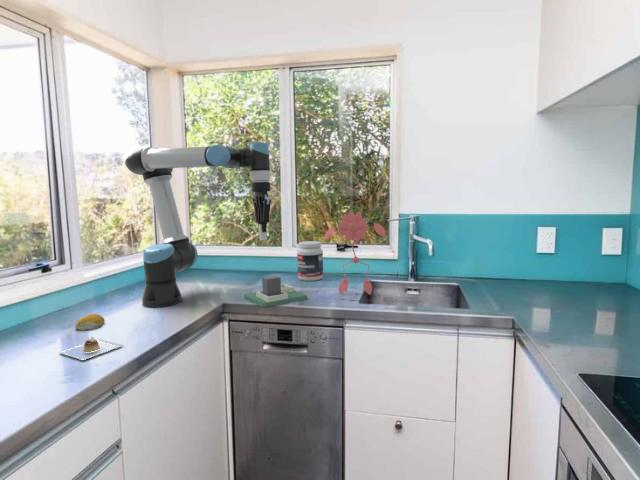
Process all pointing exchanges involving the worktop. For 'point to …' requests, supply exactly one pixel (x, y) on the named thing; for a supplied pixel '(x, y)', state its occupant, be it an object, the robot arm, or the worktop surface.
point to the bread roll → (90, 322)
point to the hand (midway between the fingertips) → (263, 239)
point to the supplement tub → (310, 261)
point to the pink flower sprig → (354, 231)
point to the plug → (271, 285)
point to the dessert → (92, 346)
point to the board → (276, 297)
